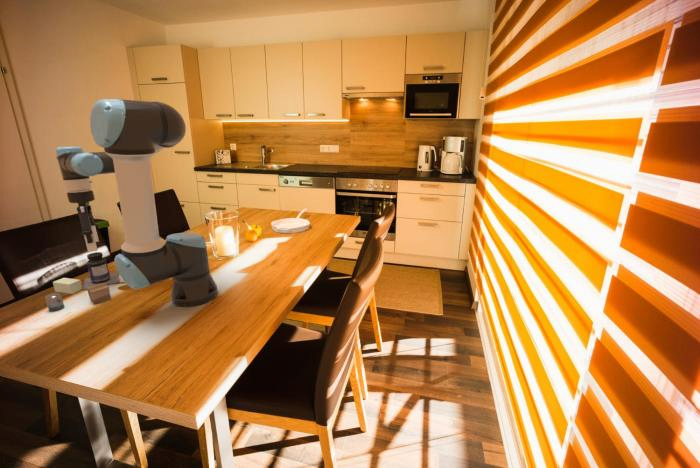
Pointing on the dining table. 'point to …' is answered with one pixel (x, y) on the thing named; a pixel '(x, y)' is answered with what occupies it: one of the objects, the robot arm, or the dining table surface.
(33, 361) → the dining table surface
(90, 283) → the mat
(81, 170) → the robot arm
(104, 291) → the walnut cube
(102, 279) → the pill bottle
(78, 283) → the sage block
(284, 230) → the pan
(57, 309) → the grey rounded block
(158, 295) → the dining table surface
